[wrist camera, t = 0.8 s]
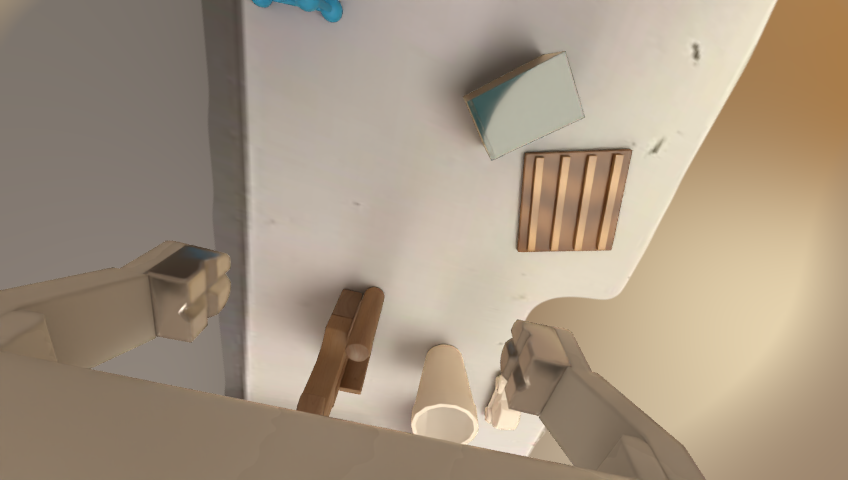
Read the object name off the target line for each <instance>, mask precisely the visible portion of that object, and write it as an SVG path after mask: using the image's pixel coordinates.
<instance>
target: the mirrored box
mask: <svg viewBox="0 0 848 480" xmlns="http://www.w3.org/2000/svg"><path fill="white" fill-rule="evenodd" d="M463 98H464V101H465V103H466V106H467V108H468V110H469V113H470V115H471V118H472V120H473V122H474V125H475V127H476V129H477V132H478V134H479V137H480V139H481V141H482V144H483V146H484V148H485V150H486V152H487V153H488V155H489V157H490V159H491V160H494V159H497V158H499V157H501V156H503V155H505V154H507V153H509V152H512V151H514V150H516V149H518V148H520V147H522V146H524V145H527V144H529V143H531V142H533V141H535V140H537V139H539V138H542V137H544V136H546V135H548V134H550V133H552V132H554V131H557V130H559V129H561V128H563V127H565V126H567V125H569V124H572V123H574V122H576V121H578V120H580V119H582V118H584V117H585V116H584V113H583V109H582V106H581V103H580V99H579V96H578V92H577V89H576V85H575V82H574V79H573V75H572V72H571V68H570V65H569V62H568V58H567V55H566V51H562V52H556V53H549V54H543V55H541V56H539V57H537V58H535V59H533V60H532V61H530V62H528V63H526V64H524V65H522V66H520V67H518V68H516V69H514V70H512V71H511V72H509V73H507V74H505V75H503V76H501V77H499V78H497V79H495V80H493V81H491V82H489V83H488V84H486V85H484V86H482V87H480V88H478V89H476V90H474V91H472V92H470V93H468V94H467V95H465V96H463Z"/></svg>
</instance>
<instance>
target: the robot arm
mask: <svg viewBox="0 0 848 480" xmlns="http://www.w3.org/2000/svg"><path fill="white" fill-rule="evenodd" d="M230 268H231V263H230V257H229V256H228V254H226V253H222V252H218V251H214V250H210V249H206V248H202V247H197V246H193V245H189V244H185V243H181V242H176V241H165V242H163V243H162V244H160V245H158V246H157V247H155V248H153V249H152V250H150V251H148V252H147V253H145V254H143V255H142V256H140V257H138V258H137V259H135V260H133V261H132V262H130V263H128V264H126V265H125V266H123V267H121V268H120V269H118V268H113V267H112V268H107V269H102V270H98V271H93V272H88V273H83V274H78V275H73V276H68V277H64V278H58V279H54V280H49V281H44V282H39V283H34V284H29V285H25V286H20V287H14V288H10V289H5V290H0V480H706V479H705V477H704V476H703V474H702V473H701V471H700V470H699V468H698V467H697V465H696V464H695V462H694V461H693V459H692V458H691V456H690V454H689V453H688V451H687V450H686V448H685V447H684V446H683V445H682V444H681V443H680V442H679V441H677V440H676V439H675V438H674V437H673V436H672V435H670V434H669V433H668V432H667V431H666V430H664V429H663V428H662V427H661V426H660V425H658V424H657V423H656V422H655V421H654V420H652V419H651V418H650V417H649V416H648V415H647V414H645V413H644V412H643V411H642V410H641V409H640V408H638V407H637V406H636V405H635V404H633V403H632V402H631V401H630V400H629V399H628V398H626V397H625V396H624V395H623V394H622V393H621V392H619V391H618V390H617V389H616V388H615V387H613V386H612V385H611V384H610V383H609V382H607V381H606V380H605V379H604V378H603V377H602V376H600V375H599V374H598V373H595V372H592V371H591V369H590V367H589V365H588V363H587V361H586V359H585V357H584V355H583V353H582V351H581V349H580V347H579V345H578V343H577V341H576V339H575V337H574V336H573V334H572V332H571V331H570V330H568V329H564V328H559V327H553V326H547V325H542V324H537V323H532V322H527V321H523V320H518V319H517V320H516V322H515V323H514V324H513V327H512V329H511V333H512V337H513V338H511V339H510V340H508V341H507V342H505V345H504V347H503V350H502V354H501V360H500V368H501V373H502V376H503V377H504V378H505V379H506V380H507V384H506V386H505V388H504V389H505V393H506V398H507V403H508V408H509V409H512V410H516V411H520V412H524V413H529V414H533V415H537V416H539V418H540V420H541V421H542V423H543V424H544V425H545V427H546V428H547V429H548V430H549V432H550V433H551V435H552V436H553V438H554V439H555V440H556V442H557V443H558V444H559V446H560V447H561V449H562V450H563V451H564V453H565V454H566V455H567V457H568V458H569V460H570V461H571V462H572V464H573V465H574V466H571V465H566V464H561V463H556V462H551V461H545V460H540V459H536V458H531V457H526V456H521V455H516V454H510V453H505V452H500V451H495V450H490V449H486V448H481V447H476V446H471V445H466V444H461V443H456V442H451V441H446V440H441V439H436V438H431V437H426V436H422V435H417V434H412V433H407V432H402V431H397V430H392V429H387V428H382V427H377V426H372V425H367V424H362V423H357V422H352V421H347V420H342V419H337V418H332V417H327V416H322V415H317V414H312V413H307V412H302V411H297V410H292V409H287V408H282V407H277V406H272V405H267V404H262V403H257V402H252V401H247V400H242V399H237V398H232V397H227V396H221V395H217V394H212V393H207V392H202V391H197V390H192V389H187V388H182V387H177V386H172V385H167V384H162V383H157V382H151V381H147V380H142V379H137V378H132V377H127V376H122V375H117V374H112V373H107V372H102V371H97V370H92V369H91V368H93V367H95V366H97V365H99V364H101V363H104V362H106V361H108V360H110V359H112V358H114V357H116V356H119V355H121V354H123V353H125V352H127V351H129V350H131V349H133V348H136V347H138V346H140V345H142V344H144V343H146V342H148V341H150V340H153V339H155V338H156V336H158V337H163V338H169V339H175V340H181V341H185V342H192V341H193V340H194V339H195V338H196V337H197V336H198V335H199V334H200V333H201V332H202V331H203V330H204V329H205V327H206V326H207V325H208V319H207V318H209V317H212V316H214V315H217V314H219V312H220V311H221V310H222V309H223V308H224V307H225V305H226V303H227V301H228V299H229V295H230V291H231V281H230V280H229V278H228V277H227V275H226V274H225V273H226V272H227V271H228V270H229V269H230Z"/></svg>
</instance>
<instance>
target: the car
mask: <svg viewBox="0 0 848 480" xmlns="http://www.w3.org/2000/svg"><path fill="white" fill-rule="evenodd" d="M499 376H500V377H496V380H495V386H496V389H495V391H494V393H493V395H492V398H491V400H490V402H489V404H488V407H486V408H485V421H486V422H488V423H490V424H492V425H493V427H494V428H498V429H501V430H509V429H510V430H515V429H516V427H517V425H518V423H519V421H520V413H521V412H520V411H516V410H512V409H509V408H508V403H507V398H506V393H505V389H504V388H505V386H506V384H507V380H506V379H505V378H504V377H503V376H502V375H499Z"/></svg>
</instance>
